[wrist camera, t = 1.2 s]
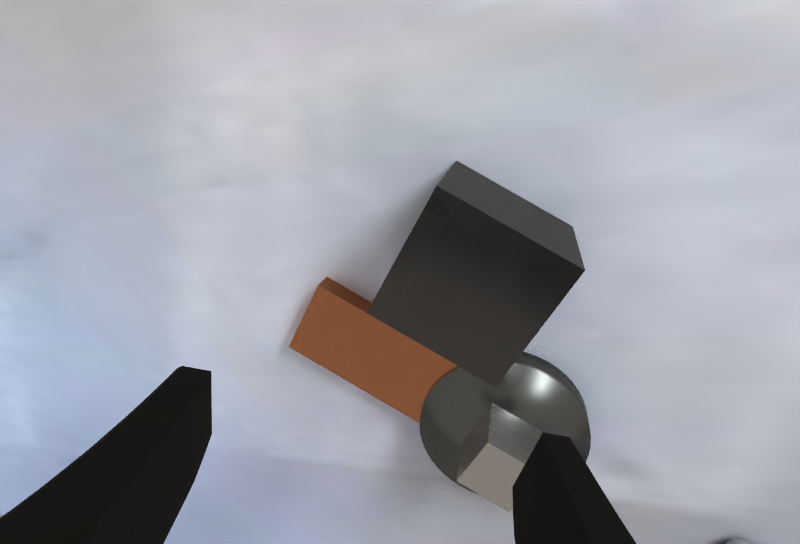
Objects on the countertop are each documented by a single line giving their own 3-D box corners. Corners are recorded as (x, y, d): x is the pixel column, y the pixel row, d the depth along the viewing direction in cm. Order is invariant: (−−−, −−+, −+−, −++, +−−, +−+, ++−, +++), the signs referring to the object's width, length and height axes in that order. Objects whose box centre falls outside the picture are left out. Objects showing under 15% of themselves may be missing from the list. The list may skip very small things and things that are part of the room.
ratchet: (623, 404, 21) (641, 467, 18) (528, 504, 24) (528, 574, 21) (343, 243, 21) (309, 275, 18) (285, 363, 24) (246, 409, 21)
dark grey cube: (572, 226, 19) (585, 269, 15) (501, 325, 21) (495, 387, 17) (456, 160, 19) (436, 185, 15) (397, 265, 21) (366, 312, 17)
